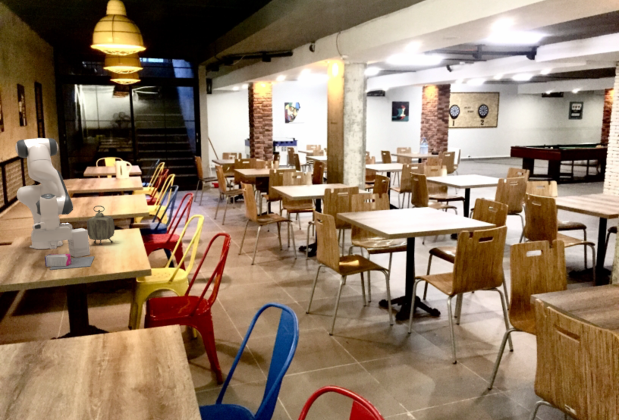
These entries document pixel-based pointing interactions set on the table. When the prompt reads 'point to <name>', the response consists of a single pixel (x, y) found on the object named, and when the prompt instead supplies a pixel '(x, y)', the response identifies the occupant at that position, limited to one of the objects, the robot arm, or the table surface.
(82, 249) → the supplement box
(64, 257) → the supplement box
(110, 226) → the tabletop clock
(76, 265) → the mat
